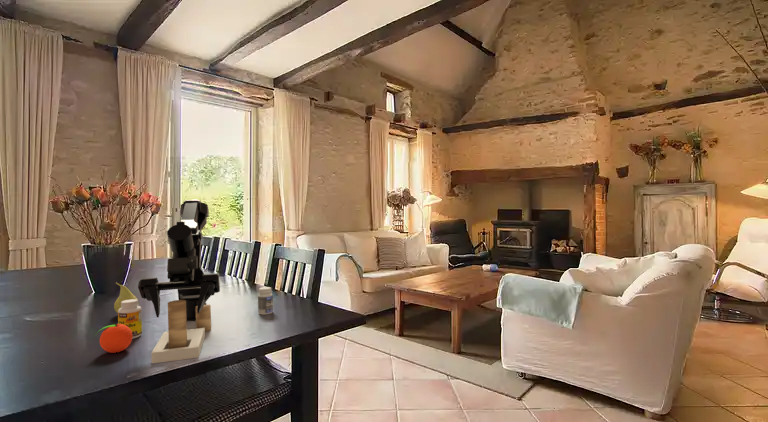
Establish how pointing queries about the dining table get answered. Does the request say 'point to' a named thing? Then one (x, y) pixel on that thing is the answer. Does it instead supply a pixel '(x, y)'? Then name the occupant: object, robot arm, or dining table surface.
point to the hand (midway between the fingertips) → (178, 314)
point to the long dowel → (177, 324)
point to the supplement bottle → (131, 316)
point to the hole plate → (191, 351)
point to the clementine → (115, 338)
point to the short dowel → (204, 318)
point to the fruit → (123, 297)
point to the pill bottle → (265, 301)
